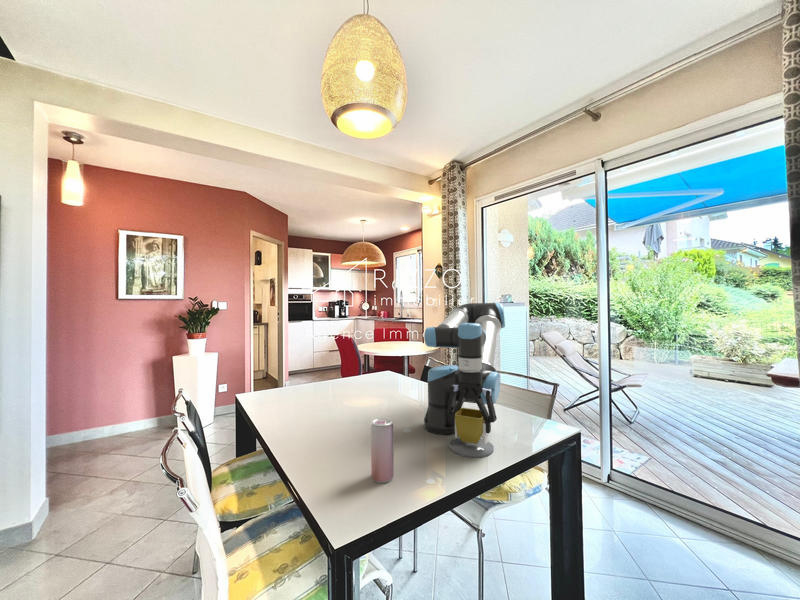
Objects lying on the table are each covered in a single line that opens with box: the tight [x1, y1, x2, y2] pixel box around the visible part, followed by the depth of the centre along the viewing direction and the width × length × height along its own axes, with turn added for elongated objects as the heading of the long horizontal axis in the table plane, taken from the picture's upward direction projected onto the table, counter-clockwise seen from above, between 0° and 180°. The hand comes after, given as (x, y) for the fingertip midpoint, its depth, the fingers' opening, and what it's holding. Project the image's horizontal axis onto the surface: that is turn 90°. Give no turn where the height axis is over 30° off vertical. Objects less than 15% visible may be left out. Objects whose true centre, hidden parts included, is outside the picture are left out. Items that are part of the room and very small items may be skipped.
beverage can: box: [370, 417, 395, 484], centre depth 87 cm, size 6×6×15 cm
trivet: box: [449, 437, 495, 459], centre depth 105 cm, size 14×14×1 cm
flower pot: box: [455, 407, 485, 444], centre depth 105 cm, size 9×9×9 cm
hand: (471, 439), depth 105 cm, fingers closed on flower pot, 9 cm apart
